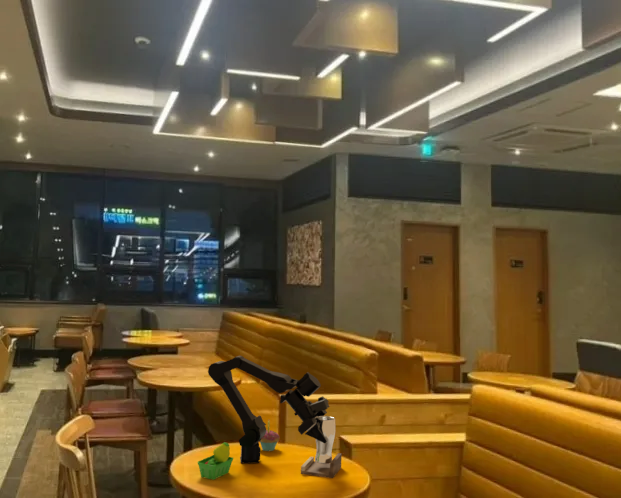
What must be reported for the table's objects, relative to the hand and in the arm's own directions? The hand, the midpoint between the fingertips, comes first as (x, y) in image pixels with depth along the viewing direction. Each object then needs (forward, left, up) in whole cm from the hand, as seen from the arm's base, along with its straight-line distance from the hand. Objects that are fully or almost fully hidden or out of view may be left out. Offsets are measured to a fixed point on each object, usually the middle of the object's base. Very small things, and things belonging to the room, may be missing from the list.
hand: (328, 439), depth 221 cm
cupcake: (-18, +26, -11) cm, 34 cm away
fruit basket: (-38, -3, -11) cm, 40 cm away
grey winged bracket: (-2, +1, -11) cm, 11 cm away
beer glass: (-1, +1, -8) cm, 8 cm away
